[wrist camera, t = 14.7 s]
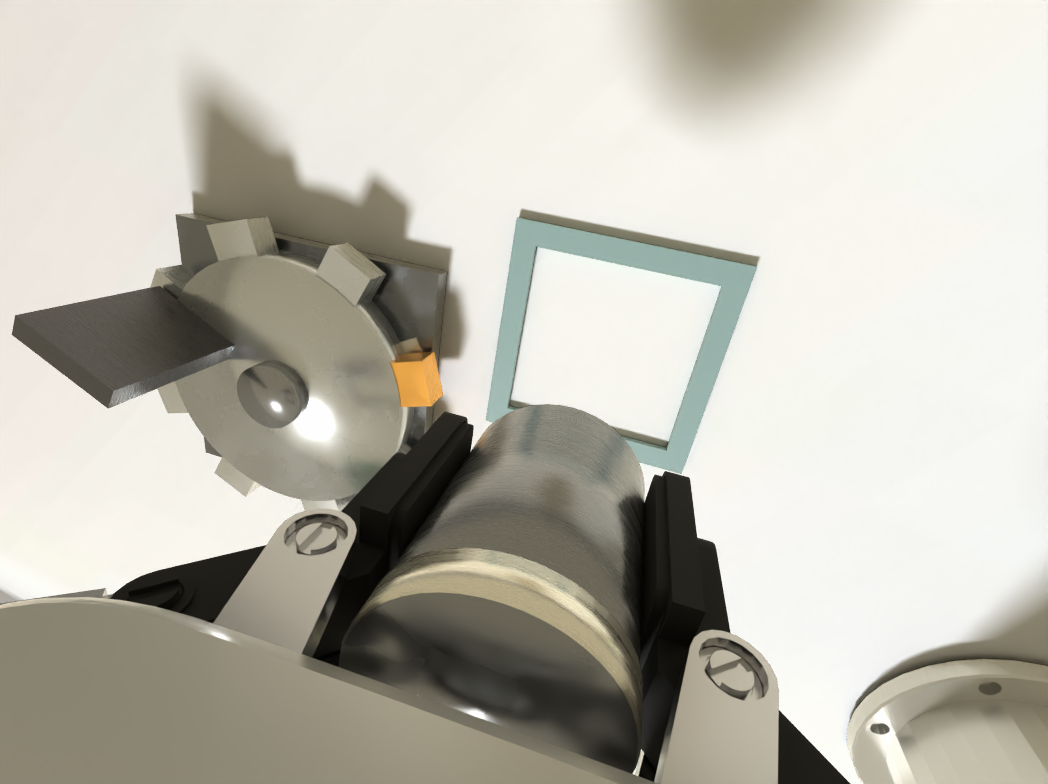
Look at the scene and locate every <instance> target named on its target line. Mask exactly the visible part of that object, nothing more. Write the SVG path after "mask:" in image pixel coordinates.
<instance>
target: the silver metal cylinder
mask: <svg viewBox="0 0 1048 784" xmlns="http://www.w3.org/2000/svg"><path fill="white" fill-rule="evenodd" d="M644 494H645V488H644V478H643V474H642V469H641V467H640V464H639V462H638V459H637V457H636V455H635V454H634V452H633V450H632V448H631V447H630V446H629V445H628V443H627V442H626V441H625V439H624V438H623V437H622V436H621V435H620V434H619V433H618V432H617V431H616V430H614V429H613V428H612V427H611V426H609V425H608V424H607V423H605V422H604V421H602V420H600V419H599V418H597V417H595V416H593V415H591V414H589V413H586V412H584V411H581V410H578V409H575V408H571V407H566V406H561V405H550V404H546V405H533V406H527V407H523V408H520V409H517V410H514V411H512V412H509V413H507V414H505V415H503V416H502V417H500V418H499V419H497V420H496V421H495V422H494V423H493V424H491V425H490V426H489V427H488V428H487V429H486V431H485V432H484V433H483V434H482V436H481V437H480V439H479V440H478V442H477V443H476V445H475V446H474V448H473V449H472V451H471V452H470V454H469V455H468V457H467V458H466V460H465V461H464V463H463V464H462V465H461V467H460V468H459V470H458V471H457V473H456V474H455V476H454V477H453V479H452V480H451V482H450V483H449V485H448V486H447V488H446V489H445V491H444V492H443V494H442V495H441V497H440V498H439V500H438V501H437V503H436V504H435V506H434V507H433V509H432V510H431V512H430V513H429V515H428V516H427V518H426V519H425V521H424V522H423V524H422V525H421V527H420V528H419V530H418V531H417V533H416V534H415V536H414V537H413V538H412V540H411V541H410V543H409V544H408V546H407V547H406V549H405V550H404V552H403V553H402V555H401V556H400V558H399V559H398V561H397V562H396V564H395V565H394V567H393V568H392V570H391V571H390V572H388V573H387V574H386V575H385V576H384V578H383V579H382V580H381V581H380V582H379V583H378V585H377V586H376V588H375V589H374V591H373V592H372V594H371V595H370V597H369V598H368V600H367V601H366V603H365V604H364V605H363V607H362V608H361V610H360V611H359V613H358V614H357V616H356V617H355V619H354V620H353V622H352V623H351V625H350V626H349V628H348V630H347V632H346V634H345V635H344V638H343V642H342V645H341V649H340V658H339V667H340V668H342V669H345V670H348V671H351V672H354V673H356V674H359V675H362V676H365V677H368V678H370V679H373V680H376V681H379V682H382V683H384V684H387V685H390V686H393V687H395V688H398V689H401V690H404V691H407V692H409V693H412V694H415V695H418V696H420V697H423V698H426V699H429V700H431V701H434V702H437V703H440V704H442V705H445V706H448V707H451V708H453V709H456V710H459V711H462V712H465V713H467V714H470V715H473V716H475V717H478V718H481V719H484V720H486V721H489V722H492V723H495V724H497V725H500V726H503V727H506V728H508V729H511V730H514V731H517V732H519V733H522V734H525V735H528V736H530V737H533V738H536V739H539V740H541V741H544V742H547V743H550V744H552V745H555V746H558V747H560V748H563V749H566V750H568V751H571V752H574V753H577V754H579V755H582V756H585V757H587V758H590V759H593V760H596V761H598V762H601V763H604V764H606V765H609V766H612V767H614V768H617V769H620V770H623V771H625V772H628V773H631V774H632V773H633V771H634V770H635V768H636V766H637V763H638V760H639V757H640V752H641V742H642V701H643V682H642V671H641V667H640V641H641V604H642V567H643V531H644Z"/></svg>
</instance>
